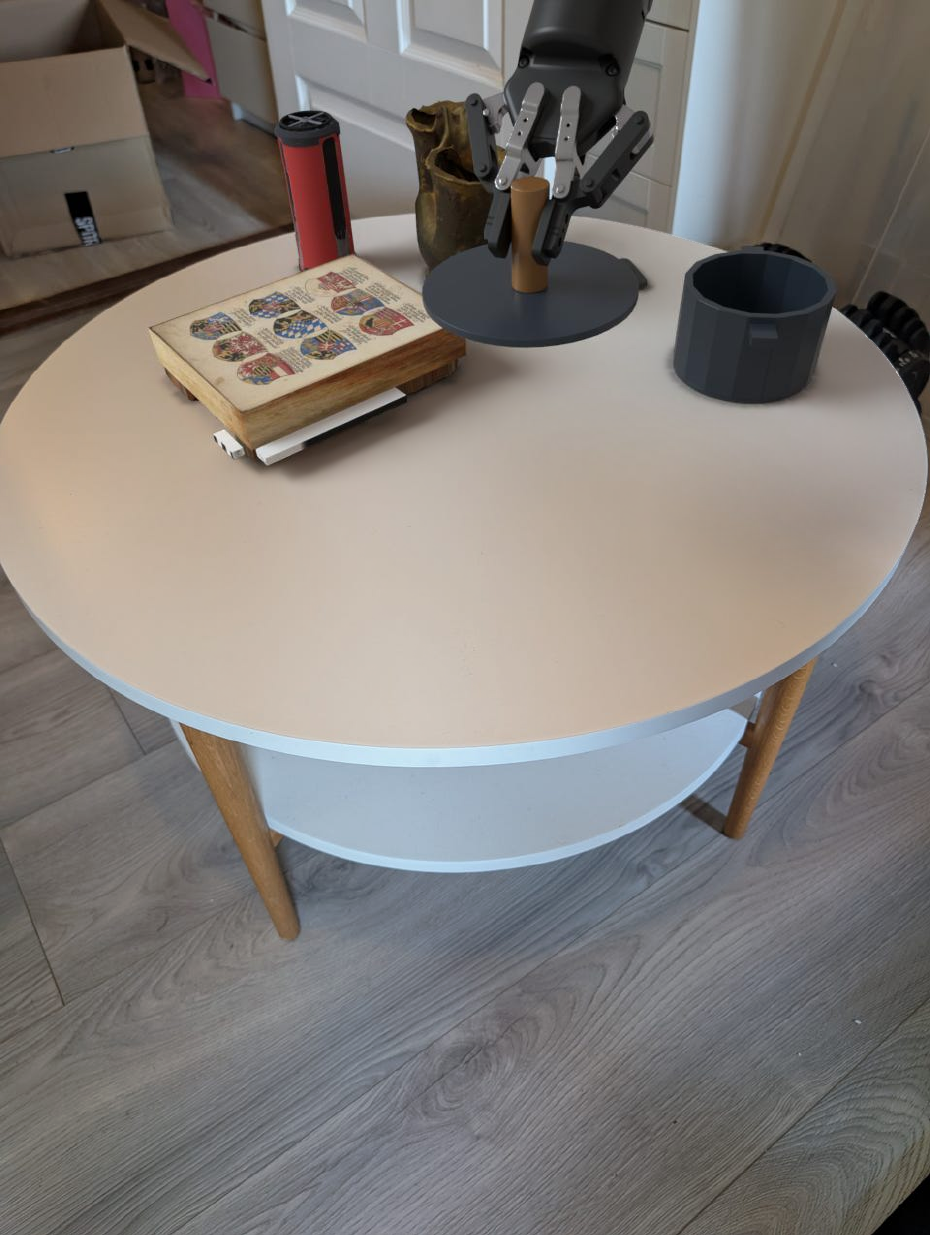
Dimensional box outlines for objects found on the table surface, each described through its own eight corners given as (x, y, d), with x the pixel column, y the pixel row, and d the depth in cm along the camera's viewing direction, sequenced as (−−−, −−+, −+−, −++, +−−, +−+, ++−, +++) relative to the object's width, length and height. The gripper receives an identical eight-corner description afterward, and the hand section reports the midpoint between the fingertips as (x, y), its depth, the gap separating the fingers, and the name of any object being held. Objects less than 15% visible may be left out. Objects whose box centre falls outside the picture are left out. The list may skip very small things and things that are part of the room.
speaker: (328, 286, 112) (304, 133, 99) (287, 271, 115) (258, 122, 102) (369, 264, 116) (351, 114, 103) (328, 250, 119) (306, 103, 106)
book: (253, 490, 83) (483, 384, 94) (237, 434, 79) (481, 329, 90) (150, 386, 97) (360, 304, 108) (131, 333, 93) (353, 253, 104)
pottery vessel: (404, 241, 120) (390, 78, 106) (481, 232, 122) (477, 68, 107) (437, 328, 103) (425, 147, 89) (526, 316, 104) (529, 135, 90)
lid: (665, 272, 66) (680, 156, 60) (591, 375, 57) (599, 249, 51) (480, 241, 71) (476, 132, 65) (384, 330, 62) (369, 212, 56)
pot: (802, 324, 100) (823, 241, 94) (822, 422, 87) (848, 334, 80) (673, 318, 103) (684, 237, 96) (672, 414, 89) (686, 327, 82)
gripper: (479, -45, 57) (406, 218, 59) (689, -36, 52) (603, 250, 54) (513, 30, 64) (447, 263, 66) (701, 44, 59) (625, 295, 61)
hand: (518, 256), depth 60 cm, fingers closed on lid, 2 cm apart
